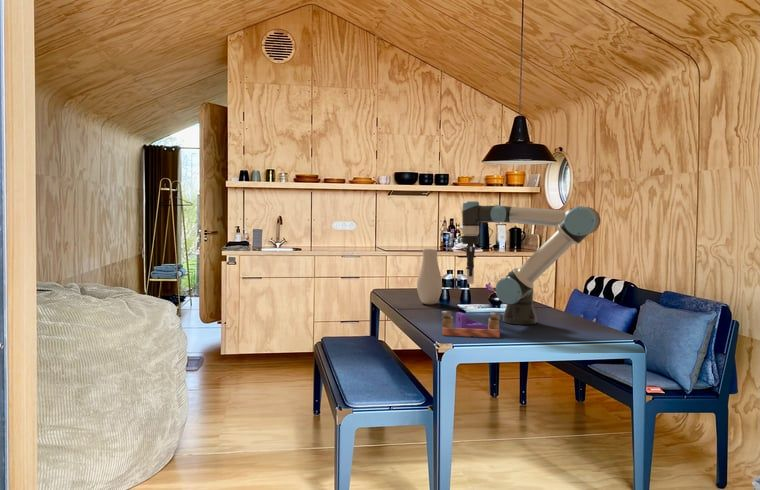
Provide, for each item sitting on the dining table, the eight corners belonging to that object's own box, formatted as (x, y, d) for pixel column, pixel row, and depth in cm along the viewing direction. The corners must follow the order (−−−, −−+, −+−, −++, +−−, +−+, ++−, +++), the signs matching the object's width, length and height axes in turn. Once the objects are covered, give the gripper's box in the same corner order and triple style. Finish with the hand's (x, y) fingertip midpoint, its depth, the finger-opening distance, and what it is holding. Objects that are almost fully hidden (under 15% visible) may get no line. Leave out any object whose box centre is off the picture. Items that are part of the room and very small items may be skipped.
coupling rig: (499, 332, 256) (499, 311, 256) (500, 337, 246) (501, 315, 246) (441, 330, 260) (442, 309, 259) (440, 335, 249) (441, 313, 249)
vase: (429, 301, 345) (430, 248, 343) (447, 304, 334) (447, 249, 333) (411, 303, 336) (412, 248, 334) (429, 306, 325) (430, 250, 324)
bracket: (461, 330, 261) (461, 315, 261) (455, 327, 268) (456, 312, 267) (487, 330, 264) (487, 314, 263) (481, 327, 270) (481, 311, 270)
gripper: (461, 234, 291) (461, 279, 292) (462, 236, 267) (462, 284, 268) (477, 234, 290) (477, 279, 291) (480, 236, 266) (479, 285, 267)
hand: (470, 282), depth 280 cm, fingers open, 12 cm apart
